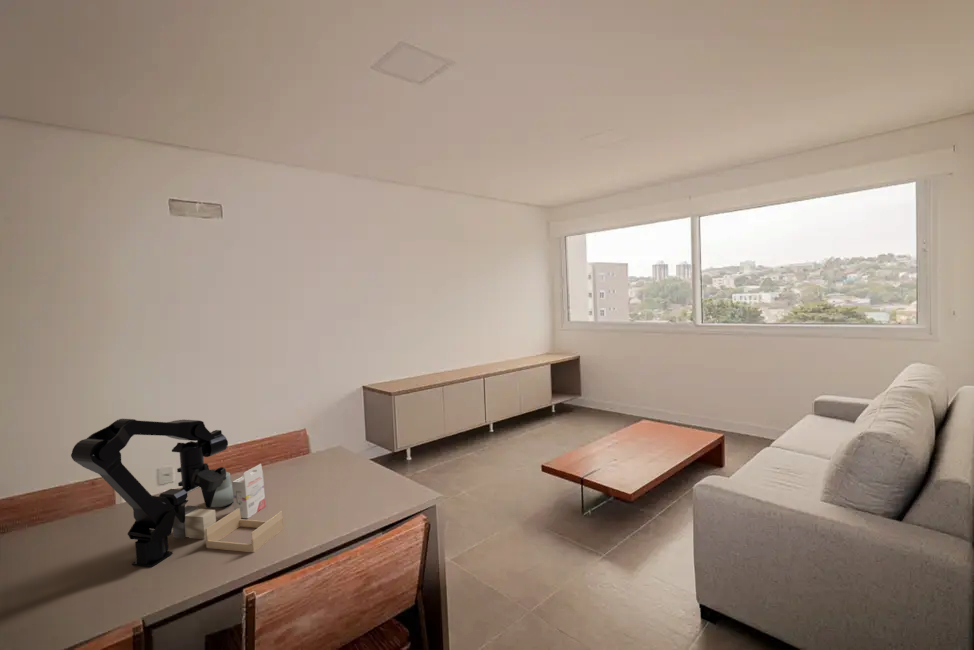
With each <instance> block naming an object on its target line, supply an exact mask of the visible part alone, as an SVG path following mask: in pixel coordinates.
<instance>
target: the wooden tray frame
mask: <svg viewBox="0 0 974 650" xmlns="http://www.w3.org/2000/svg"><path fill="white" fill-rule="evenodd" d="M240 527H242V528H243V527H245V528H256V529H254V530H253V531H251V532H250V535H251V541H250V542H251V543H244V542H232V541H223V538H225V537H227V536H228V535H230V534H232V532H234V531H236V530H237V529H238V528H240ZM284 529H285V528H284V517H283V510H280V511H279V512H278V513H276V514H275V515H274V516H273V517H271V518H269V519H268V520H256V519H247V518H241V514H240V508H238V509H236V510H235V511H234V510H233V511H231V512H230V513H228V514H227V515H225V516H223V517H222V518H220V519H219V520H216V522H215V523H214V524H212V525H211V526H209V527H207V528H206V539H205V542H206V543H205V545H206V549H215V550H225V551H235V552H245V553H255V552H257V551H258V550H259V549H260V548H262V547H263V546H265V544H267V542H270V540H272V539H273V538H274V537H276V535H278V534H279V533H280V532H282V531H283V530H284Z"/></svg>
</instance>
